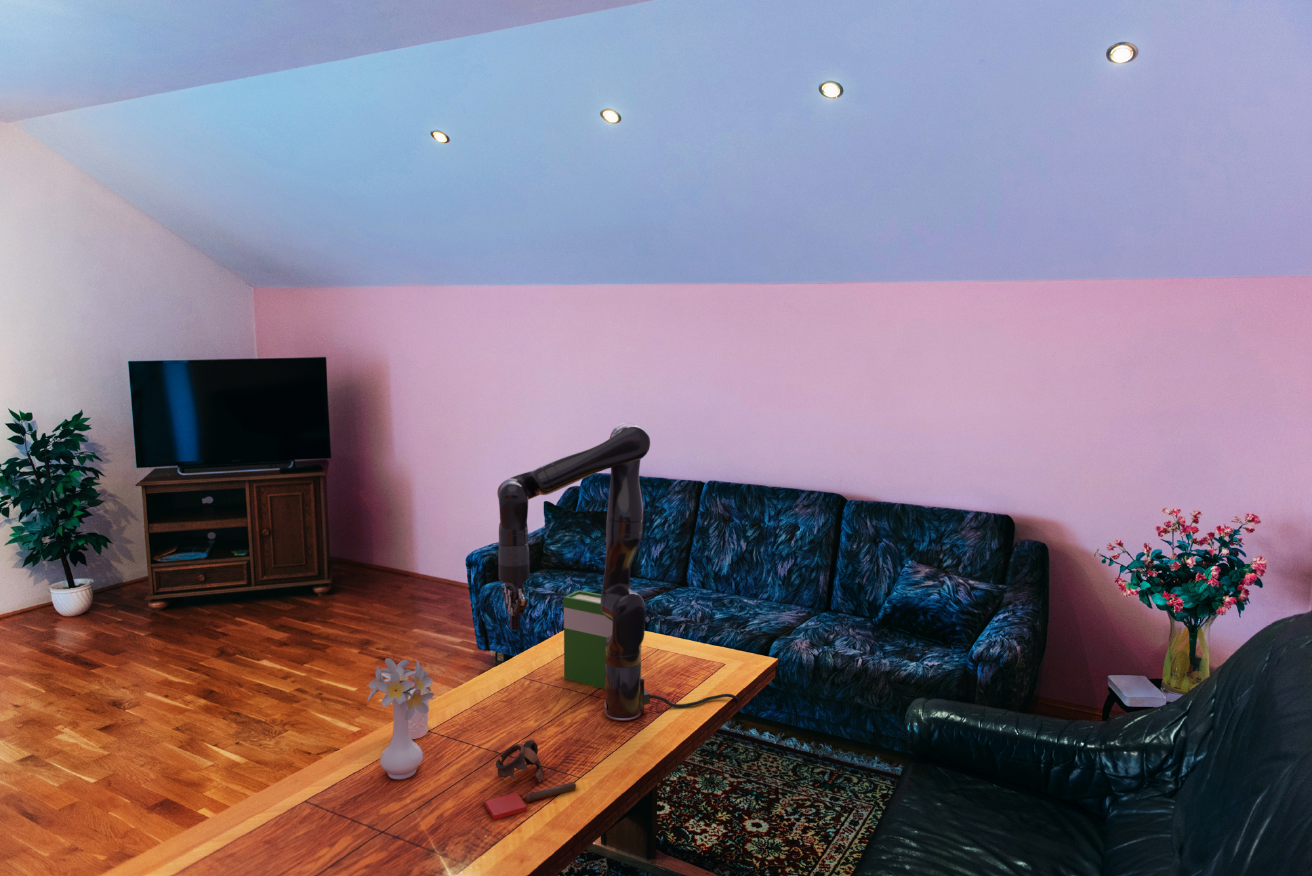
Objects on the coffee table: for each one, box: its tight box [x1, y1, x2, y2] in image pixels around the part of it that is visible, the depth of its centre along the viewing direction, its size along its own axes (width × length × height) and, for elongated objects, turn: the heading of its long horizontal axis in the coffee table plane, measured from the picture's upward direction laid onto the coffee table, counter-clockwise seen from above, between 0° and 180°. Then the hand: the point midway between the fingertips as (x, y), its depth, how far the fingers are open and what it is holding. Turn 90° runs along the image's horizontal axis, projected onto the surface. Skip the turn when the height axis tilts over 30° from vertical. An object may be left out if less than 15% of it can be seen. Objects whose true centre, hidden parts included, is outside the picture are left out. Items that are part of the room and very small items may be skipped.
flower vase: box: [367, 657, 435, 780], centre depth 185 cm, size 13×18×25 cm
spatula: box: [484, 781, 577, 821], centre depth 176 cm, size 19×6×2 cm, turn 119°
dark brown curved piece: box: [495, 739, 545, 784], centre depth 186 cm, size 12×10×8 cm
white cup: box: [407, 689, 430, 740], centre depth 204 cm, size 8×8×10 cm
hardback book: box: [563, 589, 613, 690], centre depth 235 cm, size 18×7×24 cm, turn 60°
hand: (515, 628), depth 207 cm, fingers closed
